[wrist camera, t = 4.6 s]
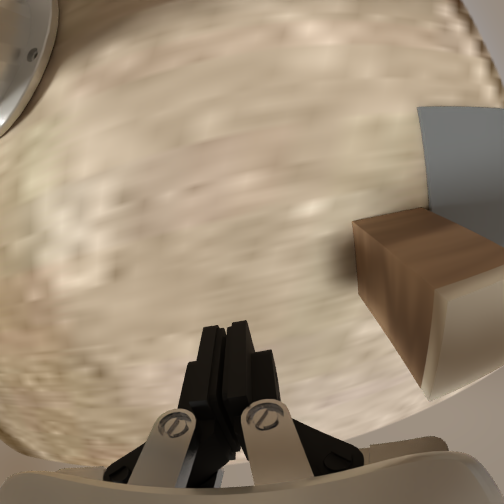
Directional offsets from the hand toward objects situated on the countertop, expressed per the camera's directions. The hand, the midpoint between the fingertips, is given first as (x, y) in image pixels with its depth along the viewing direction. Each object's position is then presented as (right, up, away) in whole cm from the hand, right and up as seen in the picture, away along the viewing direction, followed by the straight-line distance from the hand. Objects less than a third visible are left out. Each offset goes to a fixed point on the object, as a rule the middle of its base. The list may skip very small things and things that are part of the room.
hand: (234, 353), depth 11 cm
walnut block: (+9, +4, +5) cm, 11 cm away
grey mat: (+17, +6, +4) cm, 19 cm away
